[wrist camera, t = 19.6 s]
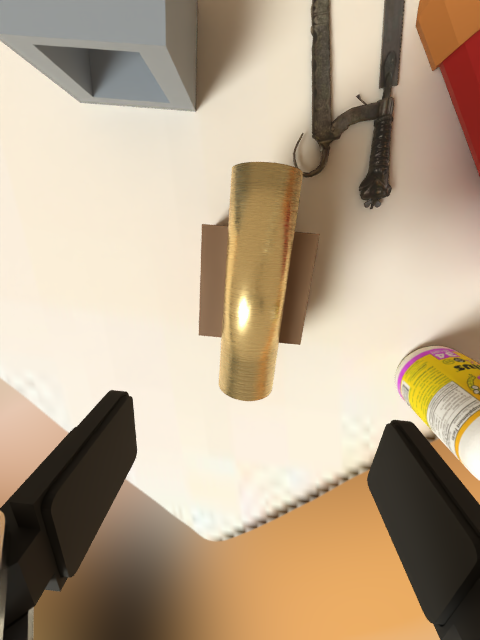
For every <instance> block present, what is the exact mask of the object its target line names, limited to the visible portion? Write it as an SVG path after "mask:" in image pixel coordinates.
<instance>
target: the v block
mask: <svg viewBox="0 0 480 640" xmlns="http://www.w3.org/2000/svg"><path fill="white" fill-rule="evenodd" d="M319 235H320V234H312V233H300V232H295V233H294V240H293V247H292V253H291V260H290V267H289V274H288V281H287V288H286V295H285V302H284V309H283V316H282V323H281V330H280V337H279V343H288V344H299V345H300V343H301V337H302V332H303V326H304V320H305V315H306V309H307V303H308V298H309V292H310V286H311V280H312V275H313V269H314V263H315V258H316V252H317V246H318V241H319ZM227 241H228V226H218V225H207V224H202V243H201V278H200V312H199V335H202V336H213V337H222V322H223V306H224V290H225V274H226V257H227Z"/></svg>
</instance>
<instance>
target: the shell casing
mask: <svg viewBox="0 0 480 640" xmlns="http://www.w3.org/2000/svg"><path fill="white" fill-rule="evenodd" d="M416 28H417V31H418V34H419V36H420V39H421V42H422V44H423V47H424V49H425V52H426V55H427V57H428V60H429V63H430V65H431V68H432V71H434V70H435V69H436V68H438V67H440V70H441V73H442V75H443V78H444V81H445V83H446V86H447V89H448V92H449V94H450V97H451V100H452V102H453V105H454V108H455V111H456V113H457V116H458V119H459V121H460V124H461V127H462V130H463V132H464V135H465V138H466V140H467V143H468V146H469V149H470V151H471V154H472V157H473V159H474V162H475V165H476V168H477V170H478V173H479V176H480V0H420V2H419V7H418V13H417V20H416Z"/></svg>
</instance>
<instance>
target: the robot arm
mask: <svg viewBox="0 0 480 640" xmlns="http://www.w3.org/2000/svg"><path fill="white" fill-rule="evenodd" d="M136 455H137V444H136V432H135V421H134V409H133V399H132V397H131V396H129V395H128V393H127V392H124V391H114V390H111V391H109V392H108V393H107V394H106V395H105V396H104V397H103V398H102V400H101V401H100V402H99V403H98V404H97V405H96V406H95V407H94V408H93V410H92V411H91V412H90V413H89V414H88V415H87V416H86V417H85V418H84V419H83V421H82V422H81V423H80V424H79V425H78V426H77V427H75V428H74V429H73V430H72V431H71V432H70V433H69V434H68V435H67V436H66V437H65V438H64V439H63V440H62V441H61V443H60V444H59V445H58V446H57V447H56V448H55V449H54V450H53V451H52V452H51V454H50V455H49V456H48V457H47V458H46V459H45V460H44V461H43V462H42V463H41V464H40V466H39V467H38V468H37V469H36V470H35V471H34V472H33V473H32V474H31V475H30V477H29V478H28V479H27V480H26V481H25V482H24V483H23V484H22V485H21V486H20V488H19V489H18V490H17V491H16V492H15V493H14V494H13V495H12V496H11V497H10V498H9V500H8V501H7V502H6V503H5V504H4V505H3V506H2V507H1V508H0V640H33V607H34V606H35V605H36V603H37V602H38V600H39V598H40V597H41V595H42V593H43V591H44V590H45V589H46V590H53V591H61V589H62V587H63V585H64V584H65V582H66V580H67V578H68V577H72V576H73V575H74V574H75V573H76V571H77V570H78V568H79V566H80V564H81V562H82V561H83V559H84V557H85V555H86V553H87V551H88V549H89V547H90V545H91V543H92V541H93V539H94V538H95V535H96V534H97V532H98V530H99V528H100V526H101V524H102V522H103V520H104V518H105V516H106V514H107V513H108V511H109V509H110V507H111V505H112V503H113V501H114V499H115V497H116V495H117V493H118V491H119V490H120V488H121V486H122V484H123V482H124V480H125V478H126V476H127V474H128V472H129V471H130V469H131V467H132V465H133V463H134V461H135V458H136ZM367 481H368V486H369V489H370V491H371V494H372V496H373V498H374V500H375V503H376V505H377V507H378V510H379V512H380V514H381V516H382V519H383V521H384V523H385V526H386V528H387V530H388V532H389V535H390V537H391V539H392V542H393V544H394V546H395V548H396V551H397V553H398V555H399V557H400V560H401V562H402V564H403V567H404V569H405V571H406V573H407V576H408V578H409V580H410V583H411V585H412V587H413V589H414V592H415V594H416V596H417V598H418V601H419V603H420V606H421V608H422V610H423V612H424V614H425V616H426V618H427V619H428V620H429V621H430V622H431V623H433V624H434V626H435V629H436V631H437V633H438V635H439V638H440V640H480V505H479V503H478V502H477V501H476V500H475V498H474V497H473V496H472V495H471V493H470V492H469V491H468V490H467V489H466V487H465V486H464V485H463V484H462V482H461V481H460V480H459V479H458V477H457V476H456V475H455V474H454V473H453V471H452V470H451V469H450V468H449V466H448V465H447V464H446V463H445V462H444V460H443V459H442V458H441V457H440V455H439V454H438V453H437V452H436V450H435V449H434V448H433V447H432V445H431V444H430V443H429V442H428V440H427V439H426V438H425V437H424V436H423V434H422V433H421V432H420V431H419V429H418V428H417V427H416V426H415V425H414V424H413V423H412V422H409V421H400V420H393V421H391V423H390V424H387V425H386V427H385V430H384V432H383V435H382V438H381V441H380V443H379V446H378V449H377V452H376V454H375V457H374V460H373V463H372V465H371V468H370V471H369V474H368V478H367Z"/></svg>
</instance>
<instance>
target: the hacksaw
mask: <svg viewBox="0 0 480 640" xmlns="http://www.w3.org/2000/svg"><path fill="white" fill-rule="evenodd" d="M403 8H404V0H385V3H384V18H383V34H382V49H381V64H380V80H379V89H380V88H384V92H383V97H382V100H379V101H378V102H377V103H371V104H369V105H367V104H366V103H365V102H364V101H363V100H361V98H360V95H357V96H356V97H357V98H358V99H359V100H360V101H361V102H362V103H363V104H365V105H363V106H359V107H354V108H351V109H350V110H348V111H346V112H345V113H343V114H341V115H340V116H338V117H337V118H336V119H335V120H334V121H333V122H332V123H331V94H330V43H329V0H312V6H311V17H312V27H311V34H312V36H313V45H312V134H313V135H312V137H313V138H314V139H315V140H316V141H317V142H318V144H319V146H320V148H321V149H320V152H322V157H321V162H320V165H319V166H318V167H317V168H316V169H315V170H313V171H311V172H310V173H304V172H303V176H304V177H312V176H314V175H317V174H318V173H320V172H321V171H322V170H323V168H324V167H325V165H326V162H327V160H328V154H329V149H330V147H329V144H330V143H331V142H332V141H333V140H336V139H339V138H340V135H341V133H343V132H344V131H345V130H346V129H348V126H350V125H352V124H355V123H357V122H361V121H368V120H374V127H375V129H374V136H373V141H372V150H371V156H370V164H369V171H368V173H367V175H366V177H365V179H364V180H363V181H362V183H361V185H360V187H359V191H361V194H360V197H361V199H363V200H369V201H367V202H365V203H364V205H365V207H367V208H368V207H369V206H370V204H371V208H370V209H373V205H374V204H375V207H379V206H380V205H381V203H380V202H379V201H377V200H379V199H381V198H384V197H386V196H389V195H390V192H391V186H390V185H389V183H388V177H389V165H388V162H389V155H390V139H391V123H392V121H393V117H392V112H393V106H394V100H393V98H392V97H390V90H391V86H396V85H397V82H398V80H397V79H398V71H399V69H398V68H399V63H400V62H399V60H400V58H399V56H400V48H401V46H400V45H401V42H400V41H401V36H402V34H401V32H402V24H403V22H402V20H403V11H404V10H403ZM302 136H303V133H302V135H301V137H300V138H299V140H298V142H297V144H296V146H295V149H294V153H293V162H294V165H295V168H298V167H297V164H296V159H295V152H296V148H297V146H298V144H299V142H300V140H301V138H302ZM298 169H299V168H298ZM299 170H300V169H299Z"/></svg>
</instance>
